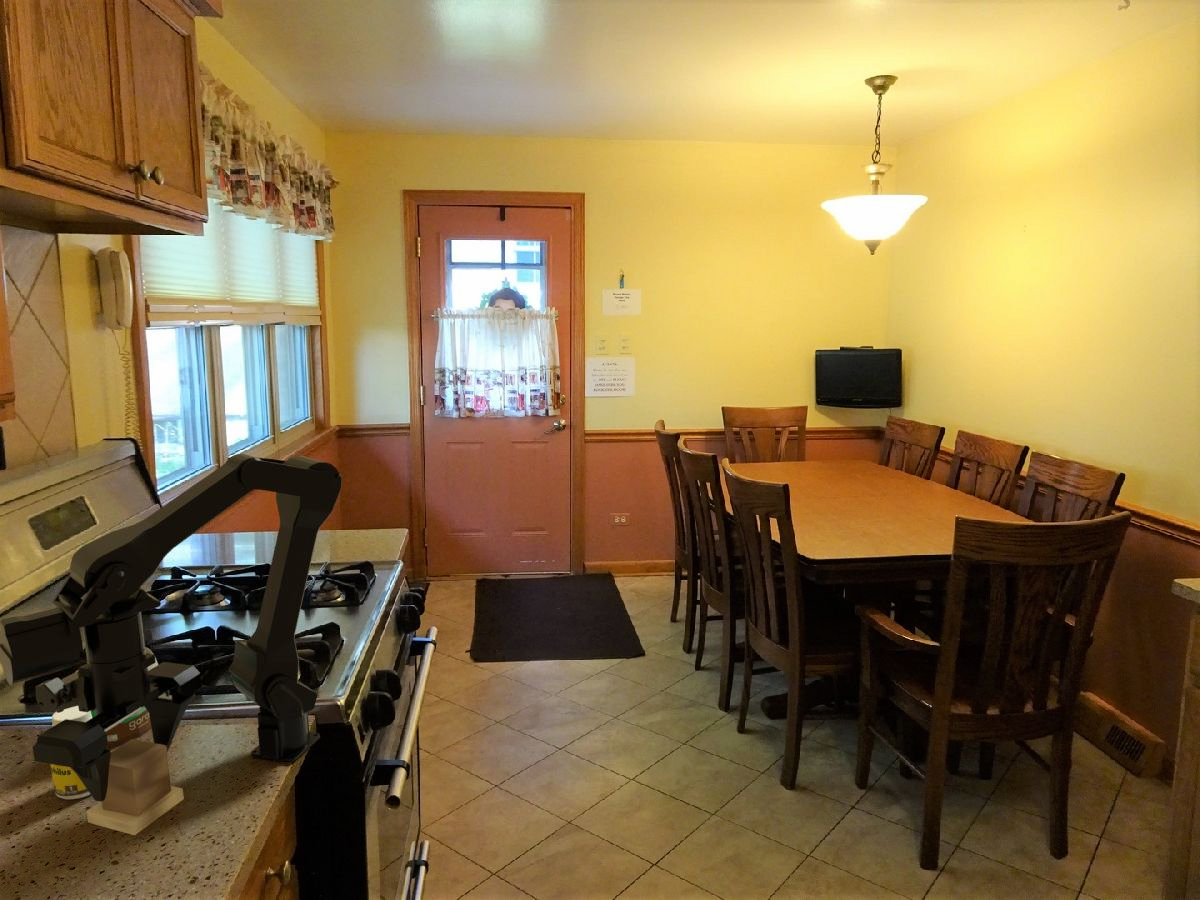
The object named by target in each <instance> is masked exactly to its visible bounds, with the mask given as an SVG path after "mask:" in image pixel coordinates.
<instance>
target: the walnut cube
mask: <svg viewBox="0 0 1200 900" xmlns="http://www.w3.org/2000/svg"><path fill="white" fill-rule="evenodd" d="M168 758H169V756H168V752H167V747H166V745H161V744H156V743H154V742H149V741H144V740H139V739H131V740H130V741H128V742H126V743H123V744H121V746H120V745H119V746H118V747H117V748H116V749H114V750H113V751H111V754H110V765H109V776H108V788H107V793H106V798H105V800H104V801H102V808H103V809H106V810H110V811H115V812H119V813H124V814H128V815H133V816H137V817H138V816H139V815H141V814H142V813H143V812H145V811H146V810H147V809H149V808H150V807H151V806H152V805H154V804H155V803H156V802H158V801H159V800H160V799H162V798H163V797H164V796H165V795H167V794H168V793H169V792H171V786H172V784H171V776H170V774H171V773H170V766H169V765H170V764H169V759H168Z"/></svg>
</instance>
